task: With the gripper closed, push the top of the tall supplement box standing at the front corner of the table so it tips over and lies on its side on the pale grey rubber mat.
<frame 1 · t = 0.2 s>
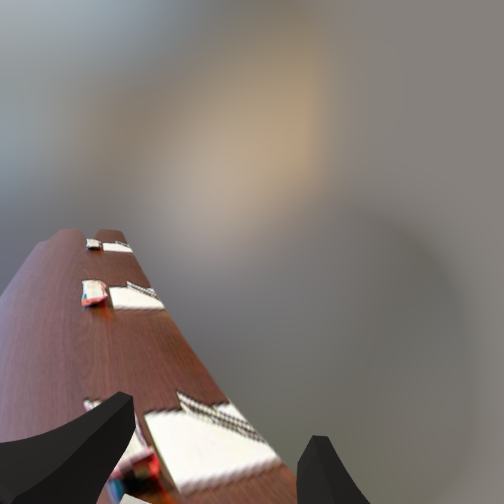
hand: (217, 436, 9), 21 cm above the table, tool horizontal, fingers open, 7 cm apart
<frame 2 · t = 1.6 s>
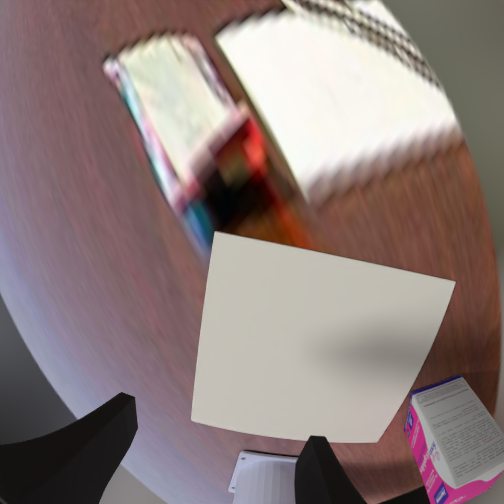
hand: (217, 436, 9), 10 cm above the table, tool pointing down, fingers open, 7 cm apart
supplement box: (430, 402, 20), on the table
grey mat: (318, 366, 20), on the table
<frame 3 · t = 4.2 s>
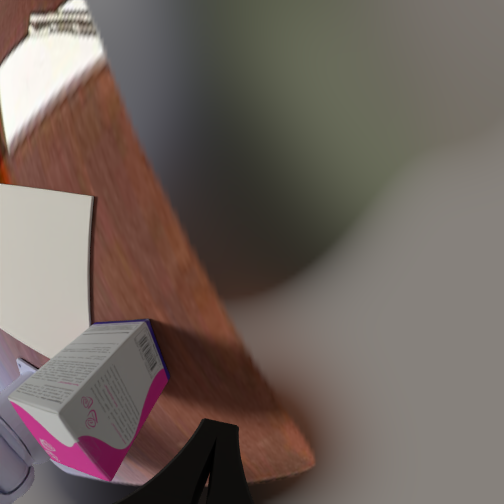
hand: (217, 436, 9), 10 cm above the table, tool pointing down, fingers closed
supplement box: (131, 349, 21), on the table
grey mat: (23, 275, 21), on the table
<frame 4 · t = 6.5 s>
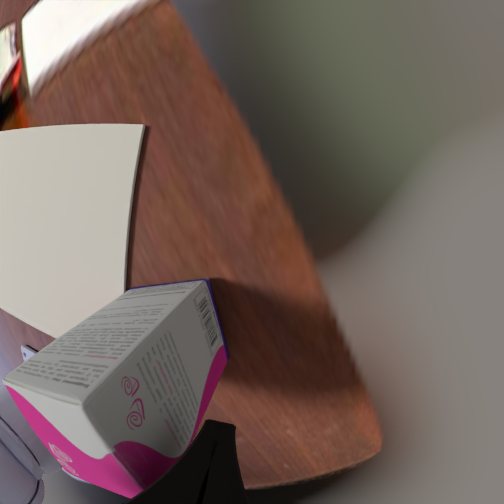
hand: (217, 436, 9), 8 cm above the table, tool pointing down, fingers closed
supplement box: (179, 323, 18), on the table, touching gripper
grey mat: (36, 235, 17), on the table
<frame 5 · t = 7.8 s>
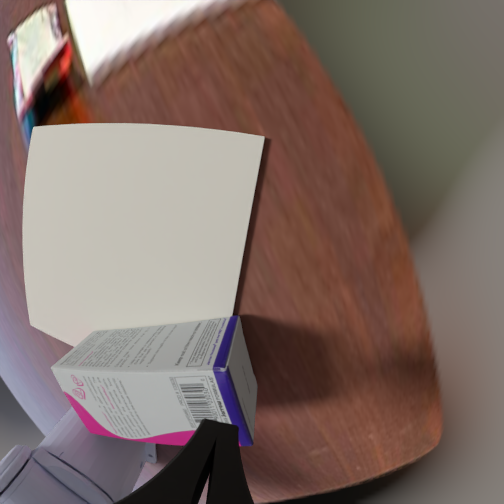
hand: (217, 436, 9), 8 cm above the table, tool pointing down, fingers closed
supplement box: (250, 378, 15), point 3 cm above the table, touching grey mat
grey mat: (105, 253, 17), on the table
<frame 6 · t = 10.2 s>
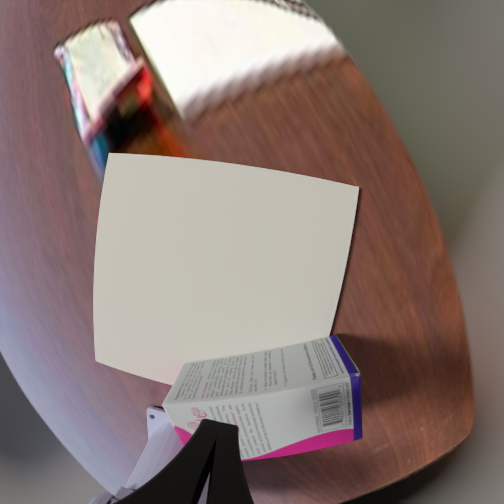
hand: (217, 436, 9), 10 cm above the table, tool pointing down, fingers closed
supplement box: (353, 384, 17), point 3 cm above the table, touching grey mat
grey mat: (206, 288, 19), on the table
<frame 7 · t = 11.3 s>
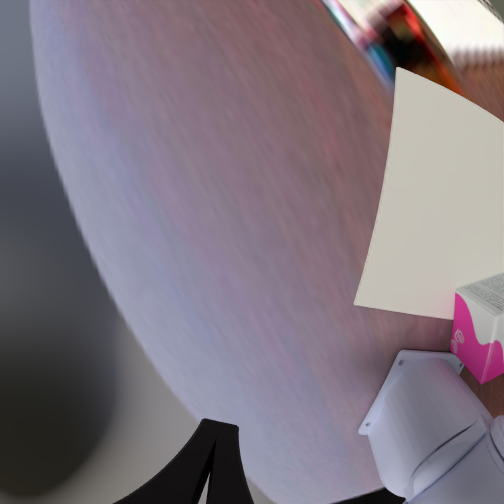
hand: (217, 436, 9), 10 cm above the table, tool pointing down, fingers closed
grey mat: (479, 214, 16), on the table
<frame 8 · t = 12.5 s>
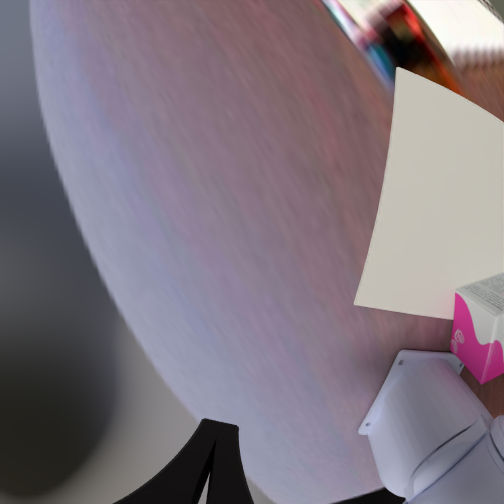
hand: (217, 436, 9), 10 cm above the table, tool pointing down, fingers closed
grey mat: (479, 214, 16), on the table
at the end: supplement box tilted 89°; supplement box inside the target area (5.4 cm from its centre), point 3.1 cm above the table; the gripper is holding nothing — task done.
